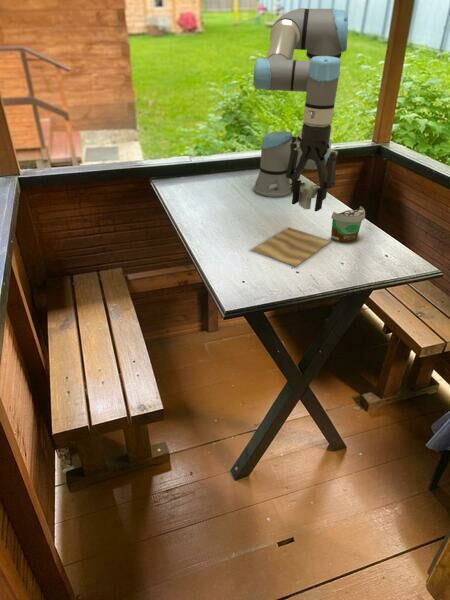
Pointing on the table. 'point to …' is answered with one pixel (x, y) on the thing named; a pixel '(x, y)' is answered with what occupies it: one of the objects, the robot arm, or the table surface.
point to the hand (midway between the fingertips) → (306, 206)
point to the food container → (346, 225)
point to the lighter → (307, 196)
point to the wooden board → (291, 246)
